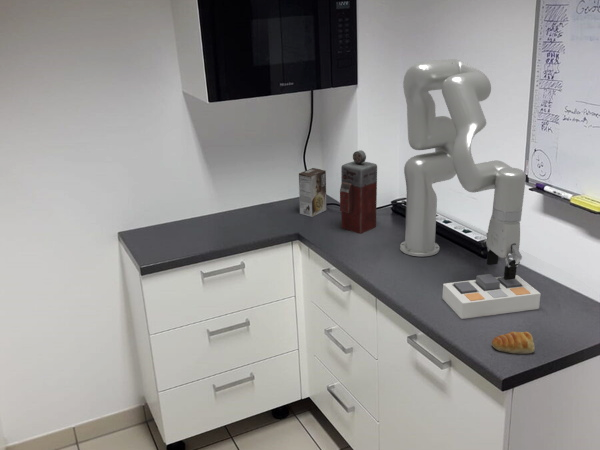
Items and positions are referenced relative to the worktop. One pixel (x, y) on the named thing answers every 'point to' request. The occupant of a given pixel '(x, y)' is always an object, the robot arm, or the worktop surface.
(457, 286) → the button
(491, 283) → the button
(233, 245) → the worktop surface
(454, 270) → the worktop surface
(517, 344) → the pastry
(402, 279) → the worktop surface
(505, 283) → the button
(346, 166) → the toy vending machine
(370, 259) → the worktop surface
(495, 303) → the switch box
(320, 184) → the coffee box
